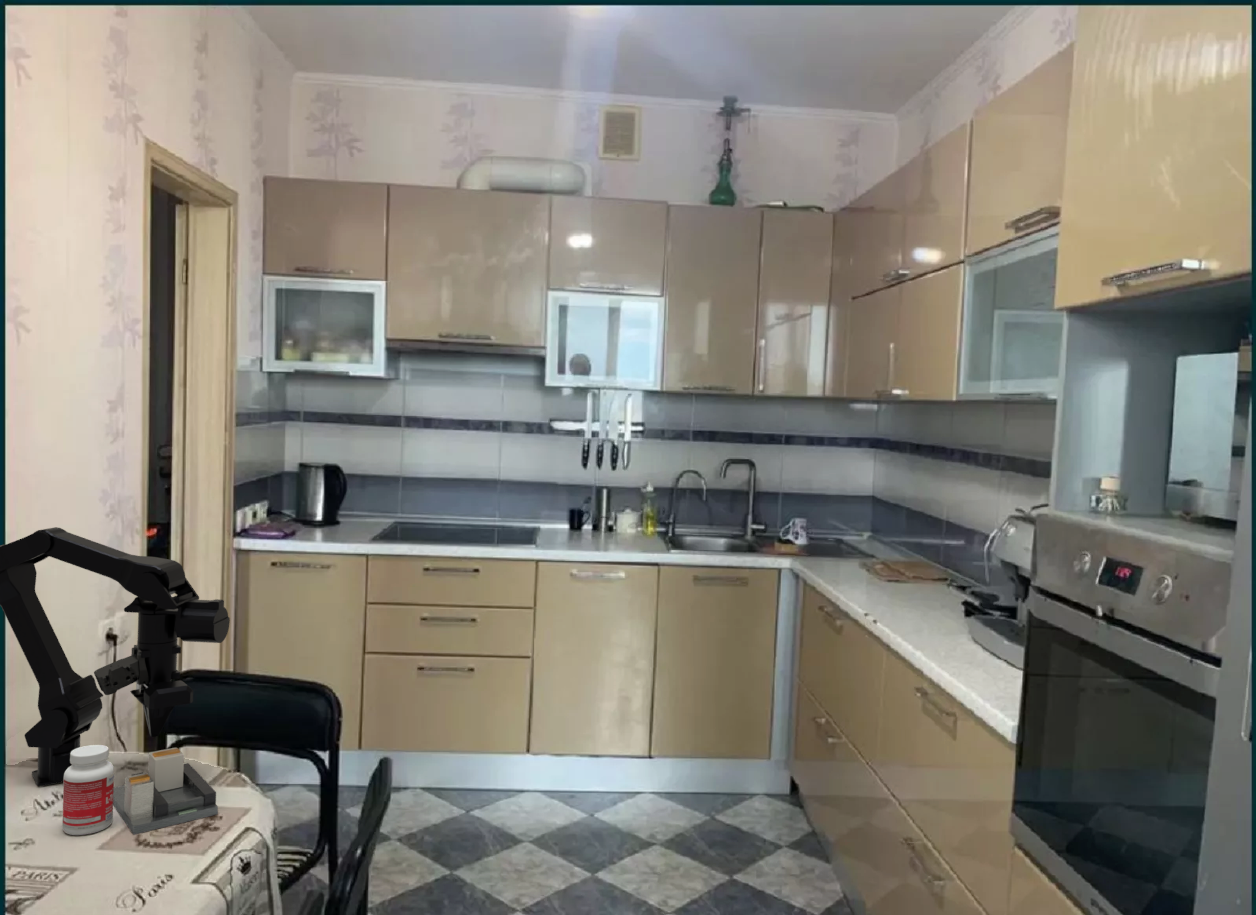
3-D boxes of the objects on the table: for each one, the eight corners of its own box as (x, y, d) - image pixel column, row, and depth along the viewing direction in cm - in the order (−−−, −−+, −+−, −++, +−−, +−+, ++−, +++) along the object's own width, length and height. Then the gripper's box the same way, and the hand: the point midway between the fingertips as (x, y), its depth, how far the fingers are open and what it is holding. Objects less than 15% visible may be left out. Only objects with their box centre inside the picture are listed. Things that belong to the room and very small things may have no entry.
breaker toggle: (147, 784, 138) (148, 750, 138) (175, 778, 140) (176, 745, 140) (154, 792, 135) (155, 758, 135) (182, 786, 137) (183, 752, 137)
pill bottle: (114, 830, 125) (116, 753, 124) (62, 840, 121) (64, 760, 121) (111, 813, 130) (113, 739, 130) (61, 822, 127) (63, 746, 126)
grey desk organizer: (107, 796, 136) (108, 754, 136) (185, 779, 143) (187, 739, 143) (133, 834, 124) (134, 788, 124) (217, 814, 131) (218, 770, 131)
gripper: (87, 633, 143) (84, 728, 144) (114, 659, 129) (111, 764, 130) (162, 626, 151) (159, 716, 151) (195, 650, 137) (192, 749, 137)
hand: (154, 735), depth 142 cm, fingers closed
